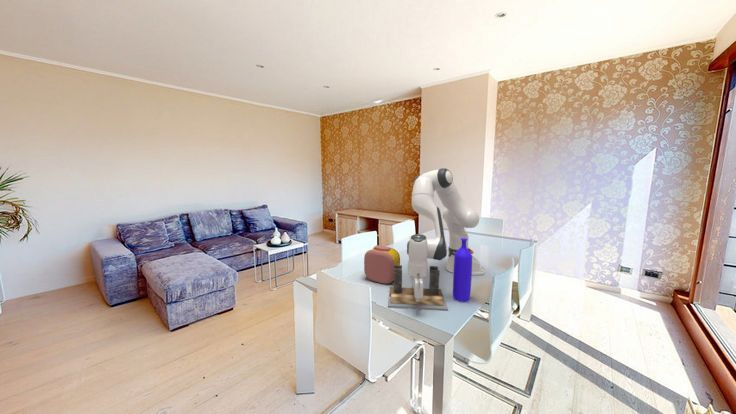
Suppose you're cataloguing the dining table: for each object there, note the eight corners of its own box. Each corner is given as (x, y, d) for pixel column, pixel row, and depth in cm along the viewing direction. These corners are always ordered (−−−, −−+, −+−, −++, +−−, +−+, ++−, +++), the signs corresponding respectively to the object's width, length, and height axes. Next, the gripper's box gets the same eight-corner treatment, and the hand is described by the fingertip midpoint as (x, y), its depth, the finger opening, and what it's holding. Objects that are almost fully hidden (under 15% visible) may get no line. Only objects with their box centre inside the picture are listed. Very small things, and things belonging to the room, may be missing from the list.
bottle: (449, 294, 138) (452, 236, 134) (465, 294, 139) (468, 236, 134) (456, 302, 130) (459, 241, 125) (473, 302, 131) (476, 240, 126)
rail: (442, 302, 129) (442, 296, 128) (443, 305, 126) (443, 299, 125) (391, 300, 131) (391, 294, 131) (391, 302, 128) (391, 296, 128)
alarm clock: (400, 279, 157) (401, 246, 154) (392, 286, 147) (393, 252, 144) (372, 273, 166) (372, 242, 163) (363, 280, 156) (362, 247, 153)
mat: (445, 301, 131) (445, 300, 131) (447, 310, 123) (448, 308, 123) (388, 299, 134) (388, 297, 134) (387, 307, 126) (387, 305, 126)
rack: (440, 291, 141) (441, 265, 139) (443, 299, 133) (444, 271, 131) (390, 289, 144) (390, 264, 142) (389, 296, 136) (389, 269, 134)
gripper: (427, 279, 115) (426, 310, 117) (422, 262, 135) (422, 289, 138) (411, 279, 116) (411, 309, 118) (409, 262, 136) (409, 288, 138)
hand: (417, 298), depth 128 cm, fingers open, 4 cm apart
